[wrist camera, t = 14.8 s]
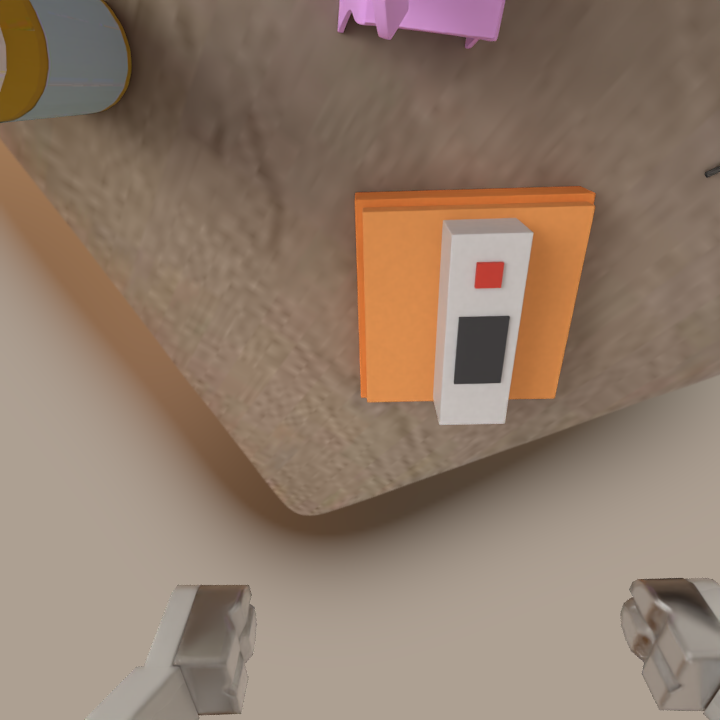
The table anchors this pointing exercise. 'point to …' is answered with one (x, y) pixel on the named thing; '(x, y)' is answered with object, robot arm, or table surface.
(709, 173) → the gaming mouse
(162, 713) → the robot arm
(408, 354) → the folded cloth
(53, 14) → the bottle
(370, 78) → the table surface
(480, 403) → the remote
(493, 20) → the toy chair
